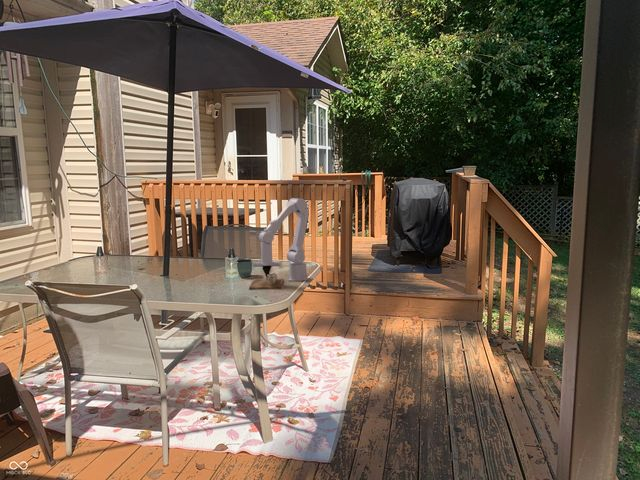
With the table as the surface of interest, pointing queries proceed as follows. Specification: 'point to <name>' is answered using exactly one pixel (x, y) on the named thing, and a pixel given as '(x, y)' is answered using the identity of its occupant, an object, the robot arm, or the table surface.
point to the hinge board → (263, 283)
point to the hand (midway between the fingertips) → (267, 280)
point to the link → (273, 279)
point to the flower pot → (244, 267)
